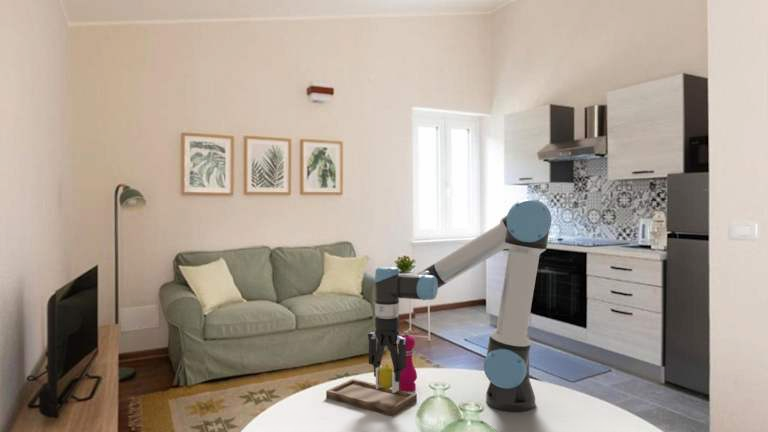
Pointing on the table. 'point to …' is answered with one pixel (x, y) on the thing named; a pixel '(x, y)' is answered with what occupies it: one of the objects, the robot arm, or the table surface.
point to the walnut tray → (371, 397)
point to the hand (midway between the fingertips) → (387, 389)
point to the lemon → (386, 377)
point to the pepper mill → (408, 366)
